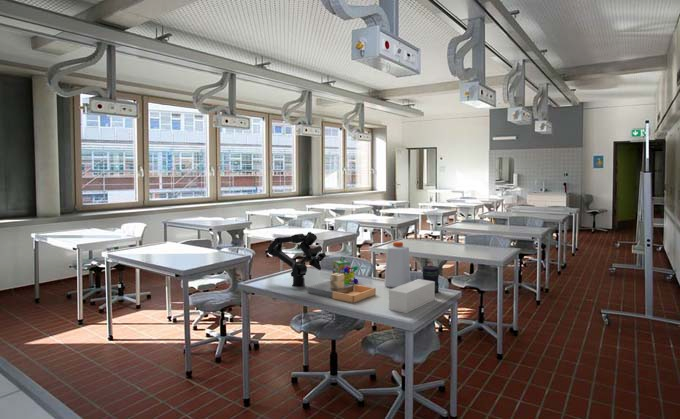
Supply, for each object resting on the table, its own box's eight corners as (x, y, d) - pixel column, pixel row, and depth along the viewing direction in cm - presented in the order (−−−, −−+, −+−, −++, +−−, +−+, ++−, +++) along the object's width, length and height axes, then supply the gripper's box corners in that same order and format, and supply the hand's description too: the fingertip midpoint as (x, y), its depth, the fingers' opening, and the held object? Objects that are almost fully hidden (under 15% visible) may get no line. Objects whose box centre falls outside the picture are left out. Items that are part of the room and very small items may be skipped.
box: (332, 298, 269) (332, 291, 269) (355, 290, 286) (355, 284, 286) (353, 303, 260) (353, 296, 259) (375, 294, 277) (375, 288, 277)
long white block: (417, 297, 273) (418, 278, 272) (434, 300, 266) (434, 281, 266) (388, 309, 248) (388, 289, 247) (406, 313, 241) (406, 293, 241)
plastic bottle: (412, 284, 303) (412, 241, 301) (405, 289, 290) (406, 244, 287) (390, 281, 310) (390, 240, 307) (382, 286, 296) (382, 243, 294)
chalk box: (332, 277, 323) (332, 256, 321) (343, 276, 327) (343, 255, 326) (338, 280, 315) (338, 258, 313) (350, 278, 319) (350, 257, 318)
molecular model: (346, 286, 298) (346, 268, 297) (338, 284, 303) (339, 266, 303) (359, 283, 305) (359, 266, 305) (352, 281, 311) (352, 264, 310)
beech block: (330, 287, 280) (330, 274, 279) (336, 285, 285) (336, 272, 284) (338, 289, 276) (338, 275, 276) (344, 287, 281) (344, 274, 280)
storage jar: (438, 294, 278) (439, 269, 277) (422, 293, 280) (422, 268, 279) (438, 289, 288) (438, 266, 287) (422, 289, 290) (422, 265, 289)
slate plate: (307, 292, 282) (307, 286, 282) (328, 286, 298) (328, 280, 298) (333, 298, 270) (333, 292, 270) (353, 291, 286) (353, 285, 285)
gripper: (303, 243, 283) (317, 263, 277) (323, 240, 297) (337, 259, 291) (294, 255, 288) (307, 275, 282) (314, 251, 303) (327, 270, 297)
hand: (320, 269), depth 288 cm, fingers closed
